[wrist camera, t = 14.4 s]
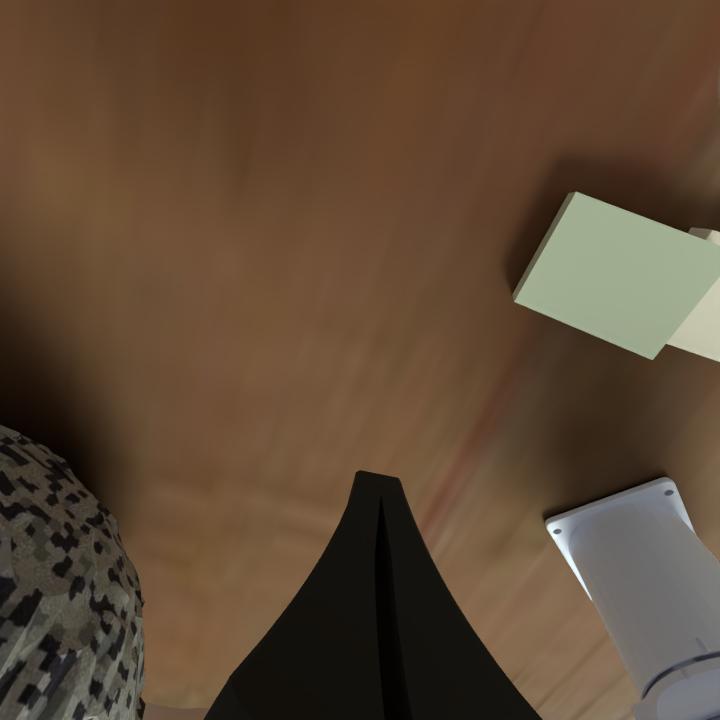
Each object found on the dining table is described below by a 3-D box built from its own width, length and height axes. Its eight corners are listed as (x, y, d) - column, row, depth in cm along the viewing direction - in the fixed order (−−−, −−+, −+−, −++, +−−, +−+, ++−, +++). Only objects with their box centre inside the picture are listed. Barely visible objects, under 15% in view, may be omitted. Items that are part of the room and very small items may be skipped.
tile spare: (568, 193, 17) (716, 249, 16) (511, 295, 19) (639, 348, 18) (576, 191, 15) (738, 252, 15) (514, 301, 18) (652, 360, 17)
